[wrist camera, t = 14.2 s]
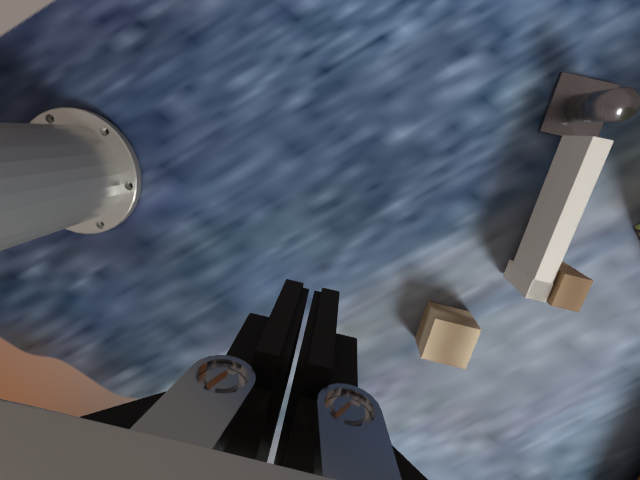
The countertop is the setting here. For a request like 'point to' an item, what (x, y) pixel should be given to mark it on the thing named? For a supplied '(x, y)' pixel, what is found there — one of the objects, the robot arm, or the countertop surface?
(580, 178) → the white long bar
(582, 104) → the knob on square plate
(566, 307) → the stile
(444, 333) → the tan cube
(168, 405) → the robot arm
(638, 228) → the protein box
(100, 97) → the countertop surface
